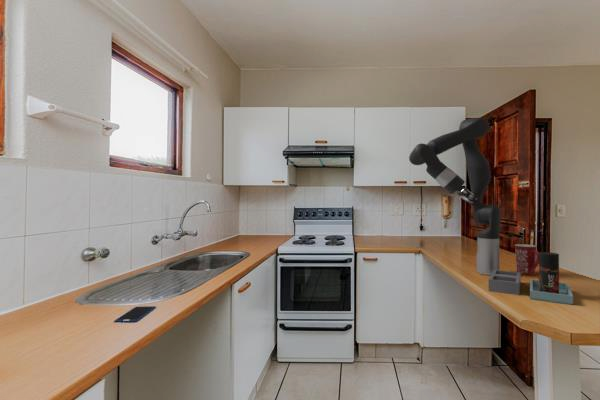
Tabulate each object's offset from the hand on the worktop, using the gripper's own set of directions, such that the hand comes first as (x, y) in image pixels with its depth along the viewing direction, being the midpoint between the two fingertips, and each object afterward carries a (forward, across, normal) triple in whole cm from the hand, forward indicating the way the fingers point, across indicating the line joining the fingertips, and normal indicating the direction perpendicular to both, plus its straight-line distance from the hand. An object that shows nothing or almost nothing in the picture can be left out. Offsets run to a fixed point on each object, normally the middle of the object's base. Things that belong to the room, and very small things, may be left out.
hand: (480, 207), depth 133 cm
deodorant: (+38, -3, +7) cm, 39 cm away
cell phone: (-54, -70, +101) cm, 135 cm away
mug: (+41, +33, +6) cm, 53 cm away
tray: (+39, -3, +7) cm, 40 cm away
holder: (+30, +4, +16) cm, 34 cm away
